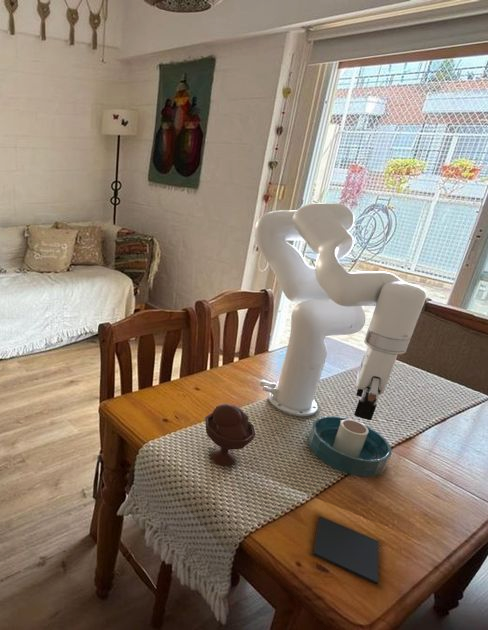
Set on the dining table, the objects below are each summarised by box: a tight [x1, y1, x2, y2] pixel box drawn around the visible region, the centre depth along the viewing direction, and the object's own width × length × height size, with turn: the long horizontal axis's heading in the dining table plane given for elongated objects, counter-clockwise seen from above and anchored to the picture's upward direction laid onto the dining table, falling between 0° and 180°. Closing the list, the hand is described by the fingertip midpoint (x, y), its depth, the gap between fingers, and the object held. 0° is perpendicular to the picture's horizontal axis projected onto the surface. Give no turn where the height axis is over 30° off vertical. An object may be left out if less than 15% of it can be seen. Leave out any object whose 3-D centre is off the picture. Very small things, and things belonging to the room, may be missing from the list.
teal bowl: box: [307, 415, 392, 478], centre depth 105 cm, size 16×16×5 cm
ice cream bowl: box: [204, 403, 256, 467], centre depth 100 cm, size 11×11×15 cm
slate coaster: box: [312, 515, 380, 585], centre depth 82 cm, size 10×10×1 cm
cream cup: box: [332, 418, 369, 458], centre depth 104 cm, size 6×6×8 cm
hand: (363, 407), depth 100 cm, fingers open, 9 cm apart
